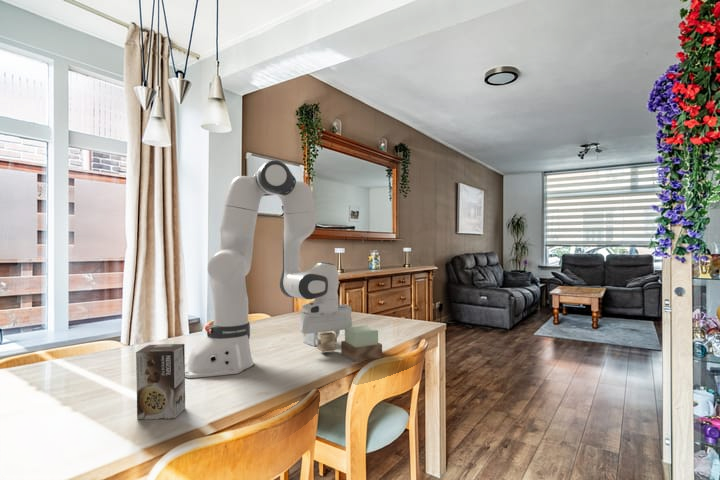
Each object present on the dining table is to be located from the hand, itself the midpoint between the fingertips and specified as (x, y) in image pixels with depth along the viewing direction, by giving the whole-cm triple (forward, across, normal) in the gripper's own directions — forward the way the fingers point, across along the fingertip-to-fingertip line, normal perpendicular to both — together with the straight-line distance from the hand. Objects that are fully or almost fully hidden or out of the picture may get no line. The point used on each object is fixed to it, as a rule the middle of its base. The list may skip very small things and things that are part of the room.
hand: (326, 343), depth 145 cm
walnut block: (+4, -10, +9) cm, 14 cm away
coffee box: (+4, +55, +28) cm, 62 cm away
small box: (+4, -2, -15) cm, 16 cm away
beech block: (+2, 0, 0) cm, 2 cm away
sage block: (-1, -10, +9) cm, 13 cm away
